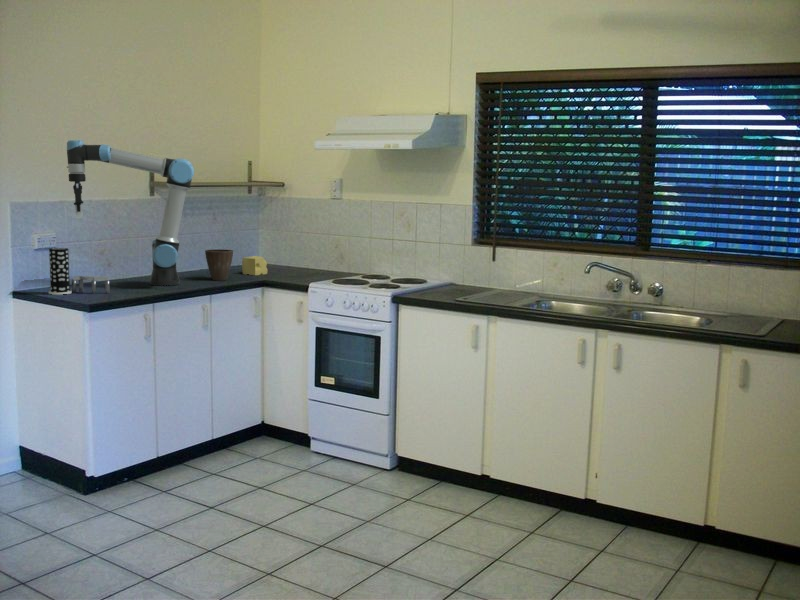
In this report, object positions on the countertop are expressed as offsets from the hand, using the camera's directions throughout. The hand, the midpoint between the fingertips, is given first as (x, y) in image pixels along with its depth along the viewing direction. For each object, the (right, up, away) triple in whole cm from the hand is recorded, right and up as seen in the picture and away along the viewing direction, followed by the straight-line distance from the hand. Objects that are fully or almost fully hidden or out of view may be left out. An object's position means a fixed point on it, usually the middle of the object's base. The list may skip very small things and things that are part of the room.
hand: (79, 217), depth 400 cm
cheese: (+70, -25, +80) cm, 109 cm away
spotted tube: (-5, -36, -11) cm, 37 cm away
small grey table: (+7, -36, -6) cm, 37 cm away
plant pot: (+56, -29, +51) cm, 81 cm away
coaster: (-5, -36, -10) cm, 38 cm away
